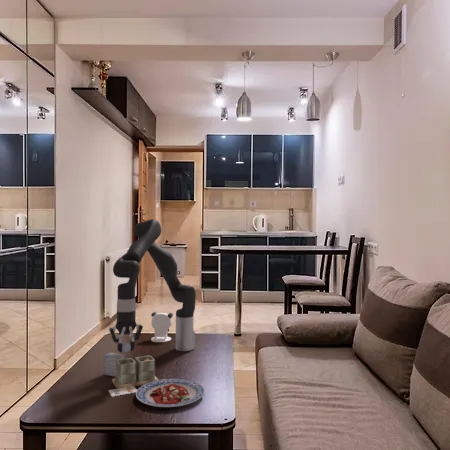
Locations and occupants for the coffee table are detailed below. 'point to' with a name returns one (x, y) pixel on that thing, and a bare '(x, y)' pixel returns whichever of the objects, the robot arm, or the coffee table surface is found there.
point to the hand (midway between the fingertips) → (125, 351)
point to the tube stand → (134, 372)
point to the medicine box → (111, 363)
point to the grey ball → (126, 347)
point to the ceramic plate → (170, 392)
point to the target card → (122, 391)
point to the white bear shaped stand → (161, 326)
